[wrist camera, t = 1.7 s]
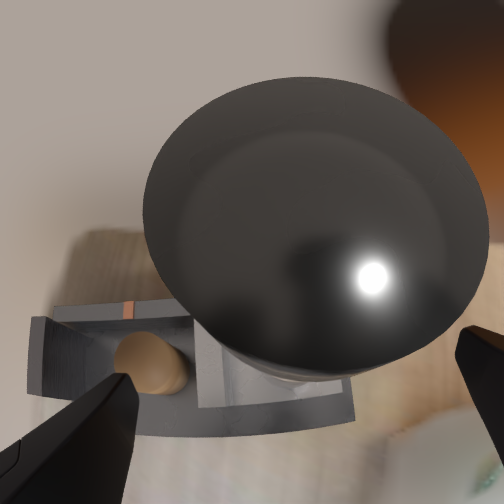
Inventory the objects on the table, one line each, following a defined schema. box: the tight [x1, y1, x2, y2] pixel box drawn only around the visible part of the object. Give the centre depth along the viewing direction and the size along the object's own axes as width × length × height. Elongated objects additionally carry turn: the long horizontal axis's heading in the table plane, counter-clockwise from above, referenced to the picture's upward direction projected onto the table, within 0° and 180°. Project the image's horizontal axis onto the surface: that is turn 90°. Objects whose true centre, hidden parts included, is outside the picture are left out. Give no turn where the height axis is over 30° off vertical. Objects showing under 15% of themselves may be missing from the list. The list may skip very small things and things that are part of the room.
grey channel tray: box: [27, 298, 355, 437], centre depth 15 cm, size 17×8×5 cm, turn 95°
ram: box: [143, 77, 489, 408], centre depth 10 cm, size 7×4×15 cm, turn 95°
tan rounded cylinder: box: [114, 331, 190, 395], centre depth 15 cm, size 3×3×4 cm
